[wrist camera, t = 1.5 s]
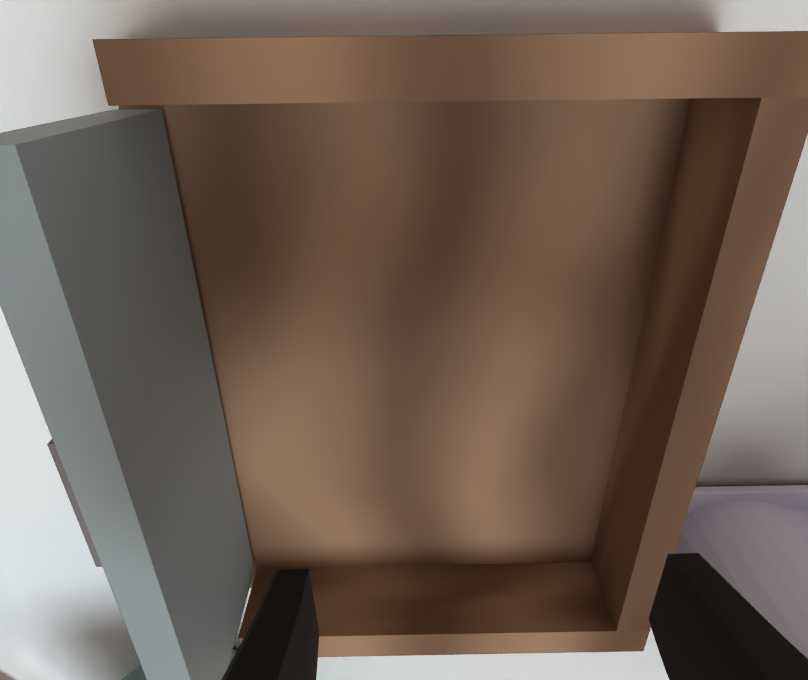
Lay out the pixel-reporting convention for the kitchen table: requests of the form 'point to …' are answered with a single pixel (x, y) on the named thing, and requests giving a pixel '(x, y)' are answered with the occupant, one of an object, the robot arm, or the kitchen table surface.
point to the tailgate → (127, 378)
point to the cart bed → (473, 308)
